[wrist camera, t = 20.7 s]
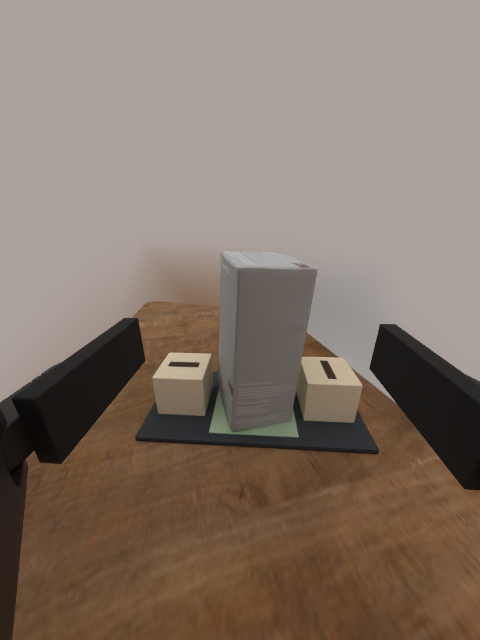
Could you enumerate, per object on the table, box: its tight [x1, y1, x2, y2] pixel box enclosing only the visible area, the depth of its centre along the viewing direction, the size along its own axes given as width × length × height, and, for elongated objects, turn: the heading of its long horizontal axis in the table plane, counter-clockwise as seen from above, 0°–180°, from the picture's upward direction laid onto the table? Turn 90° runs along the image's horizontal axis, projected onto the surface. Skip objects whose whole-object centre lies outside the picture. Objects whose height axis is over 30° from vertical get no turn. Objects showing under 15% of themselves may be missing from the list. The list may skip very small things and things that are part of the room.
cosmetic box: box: [218, 251, 317, 431], centre depth 23 cm, size 8×7×16 cm
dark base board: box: [135, 353, 379, 453], centre depth 26 cm, size 22×11×5 cm, turn 86°
